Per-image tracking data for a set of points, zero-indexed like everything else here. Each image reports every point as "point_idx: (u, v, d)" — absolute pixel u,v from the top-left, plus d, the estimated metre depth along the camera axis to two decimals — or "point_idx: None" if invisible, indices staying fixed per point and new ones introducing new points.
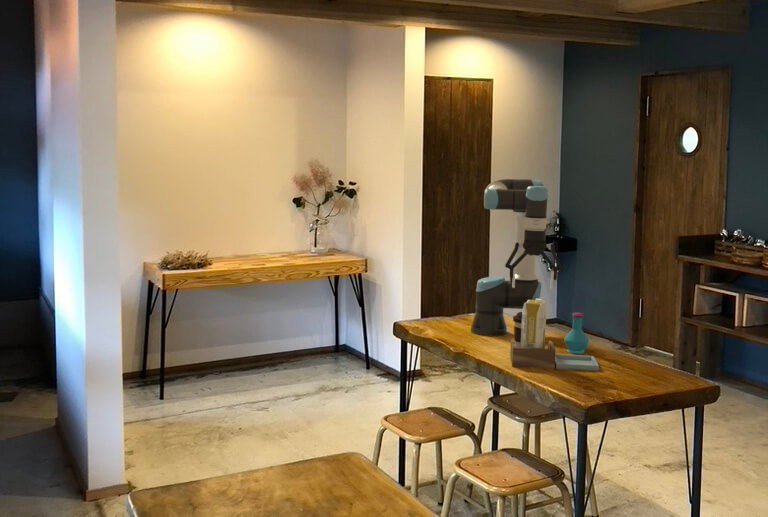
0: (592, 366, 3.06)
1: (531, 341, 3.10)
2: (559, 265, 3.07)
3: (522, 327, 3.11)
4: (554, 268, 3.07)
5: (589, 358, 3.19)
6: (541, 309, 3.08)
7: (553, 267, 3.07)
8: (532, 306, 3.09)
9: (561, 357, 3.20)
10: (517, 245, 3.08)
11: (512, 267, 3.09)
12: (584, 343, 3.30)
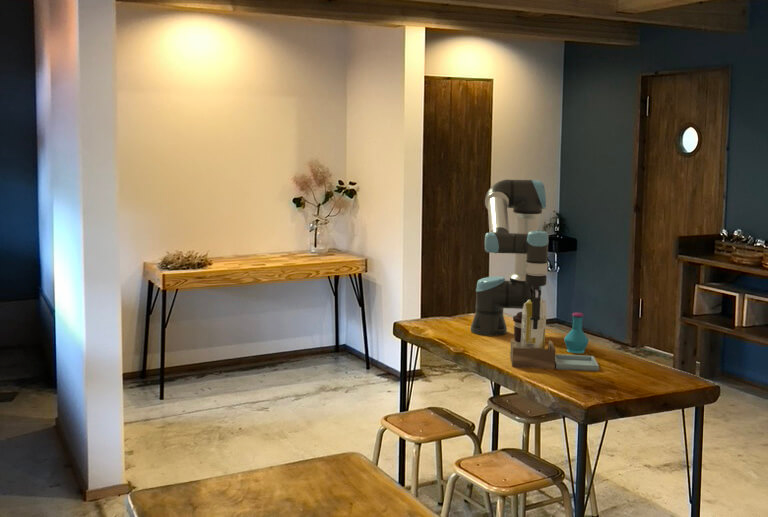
0: (592, 366, 3.06)
1: (531, 341, 3.10)
2: (532, 314, 3.05)
3: (522, 327, 3.11)
4: (532, 316, 3.07)
5: (589, 358, 3.19)
6: (541, 309, 3.08)
7: (532, 315, 3.07)
8: None
9: (561, 357, 3.20)
10: (530, 288, 3.18)
11: None
12: (584, 343, 3.30)
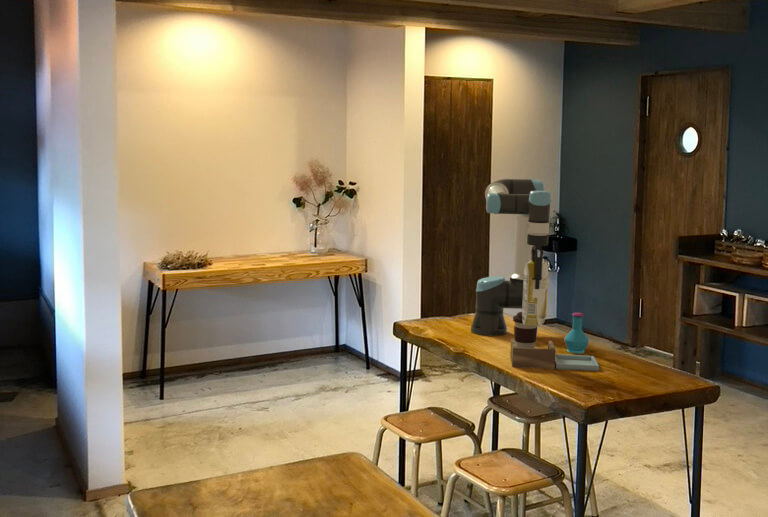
0: (592, 366, 3.06)
1: (533, 301, 3.08)
2: (534, 274, 3.03)
3: (524, 288, 3.10)
4: None
5: (589, 358, 3.19)
6: (543, 269, 3.06)
7: (534, 275, 3.05)
8: (533, 266, 3.07)
9: (561, 357, 3.20)
10: (532, 249, 3.16)
11: None
12: (584, 343, 3.30)
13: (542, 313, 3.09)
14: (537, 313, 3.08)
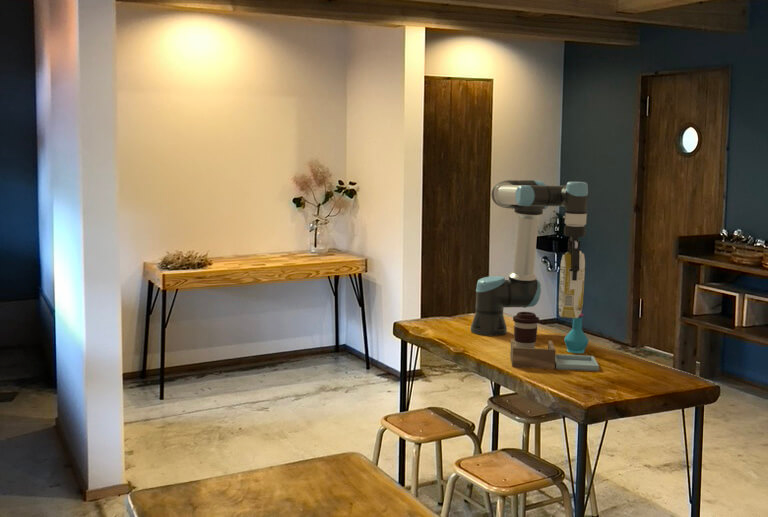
0: (592, 366, 3.06)
1: (570, 293, 3.05)
2: (572, 265, 3.01)
3: (561, 279, 3.07)
4: (571, 268, 3.03)
5: (589, 358, 3.19)
6: (580, 260, 3.04)
7: (571, 266, 3.03)
8: None
9: (561, 357, 3.20)
10: None
11: None
12: (584, 343, 3.30)
13: (579, 305, 3.06)
14: (574, 305, 3.05)
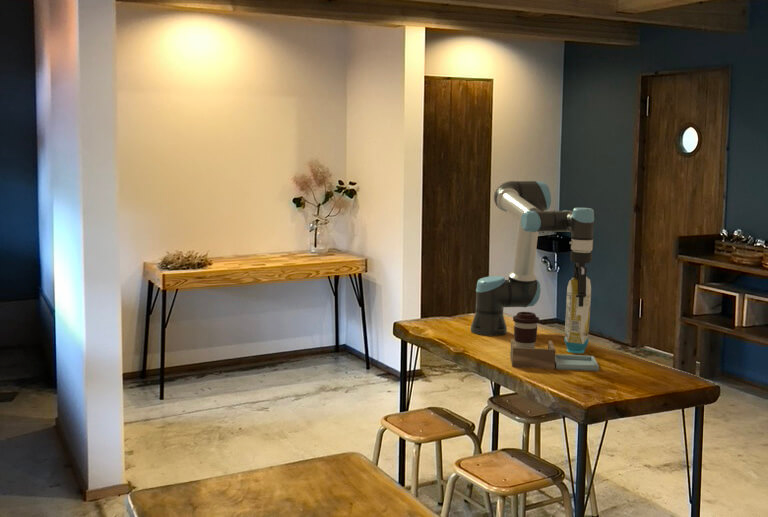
0: (592, 366, 3.06)
1: (577, 319, 3.06)
2: (578, 291, 3.02)
3: (567, 305, 3.08)
4: None
5: (589, 358, 3.19)
6: (587, 286, 3.05)
7: None
8: (577, 283, 3.05)
9: (561, 357, 3.20)
10: (574, 266, 3.15)
11: None
12: (584, 343, 3.30)
13: (585, 330, 3.07)
14: (580, 331, 3.07)
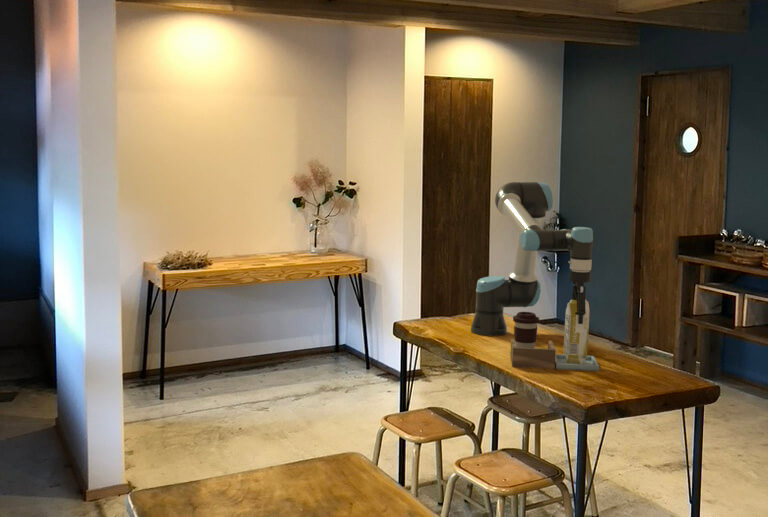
0: (592, 366, 3.06)
1: (575, 341, 3.08)
2: (578, 309, 3.02)
3: (566, 327, 3.10)
4: (577, 311, 3.03)
5: (589, 358, 3.19)
6: (585, 309, 3.06)
7: (577, 310, 3.04)
8: (576, 306, 3.07)
9: (561, 357, 3.20)
10: (573, 283, 3.16)
11: None
12: None
13: (584, 353, 3.09)
14: (578, 353, 3.08)
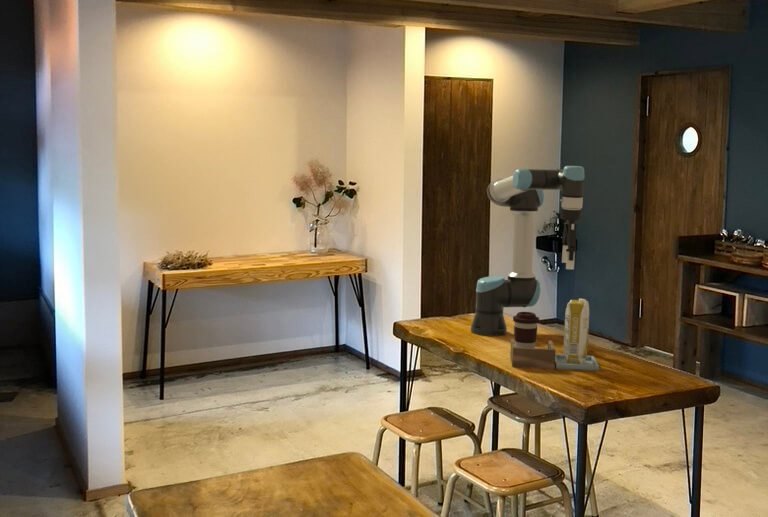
0: (592, 366, 3.06)
1: (575, 341, 3.08)
2: (568, 246, 3.07)
3: (566, 327, 3.10)
4: (568, 248, 3.09)
5: (589, 358, 3.19)
6: (585, 309, 3.06)
7: (568, 247, 3.09)
8: (575, 306, 3.07)
9: (561, 357, 3.20)
10: (565, 222, 3.21)
11: (563, 242, 3.23)
12: None
13: (584, 353, 3.09)
14: (578, 353, 3.08)
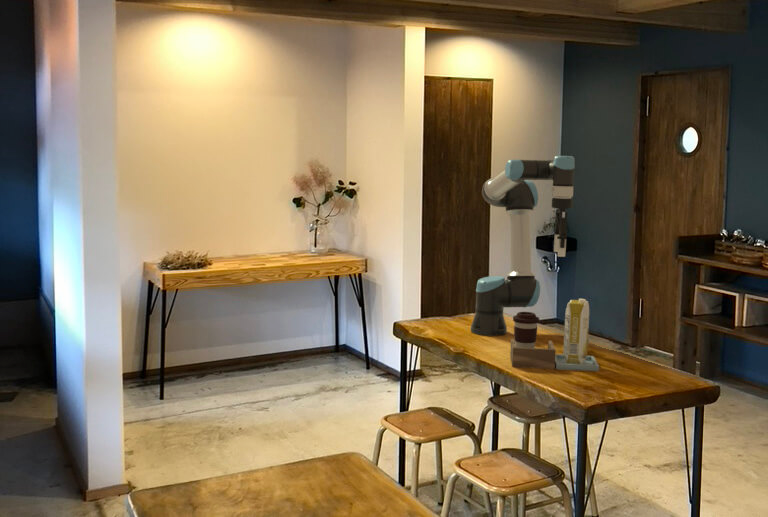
0: (592, 366, 3.06)
1: (575, 341, 3.08)
2: (560, 233, 3.13)
3: (566, 327, 3.10)
4: (559, 236, 3.15)
5: (589, 358, 3.19)
6: (585, 309, 3.06)
7: (559, 235, 3.15)
8: (575, 306, 3.07)
9: (561, 357, 3.20)
10: (556, 211, 3.27)
11: (555, 232, 3.29)
12: None
13: (584, 353, 3.09)
14: (578, 353, 3.08)
